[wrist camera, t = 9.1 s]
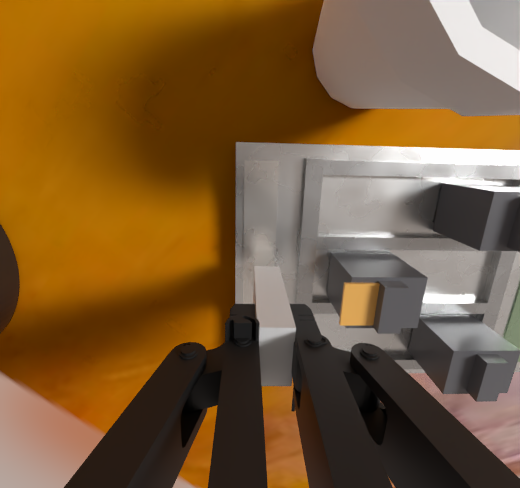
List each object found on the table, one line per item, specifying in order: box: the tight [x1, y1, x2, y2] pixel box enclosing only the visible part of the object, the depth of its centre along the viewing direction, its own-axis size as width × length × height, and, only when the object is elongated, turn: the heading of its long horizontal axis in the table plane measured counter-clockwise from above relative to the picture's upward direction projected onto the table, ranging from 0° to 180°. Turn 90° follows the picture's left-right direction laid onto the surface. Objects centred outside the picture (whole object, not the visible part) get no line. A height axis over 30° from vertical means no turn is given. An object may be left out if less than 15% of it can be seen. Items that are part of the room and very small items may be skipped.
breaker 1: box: [327, 252, 428, 334], centre depth 17 cm, size 4×3×5 cm
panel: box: [235, 142, 520, 373], centre depth 20 cm, size 22×16×2 cm
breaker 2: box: [433, 183, 520, 252], centre depth 16 cm, size 4×3×5 cm
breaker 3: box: [408, 315, 520, 401], centre depth 19 cm, size 4×3×5 cm
